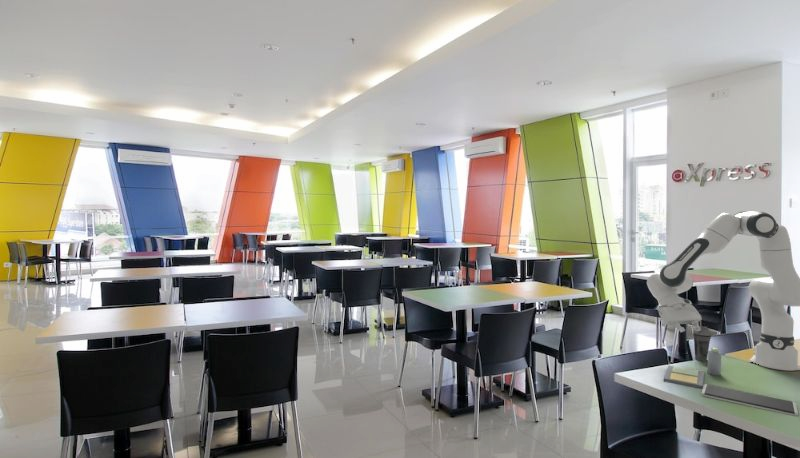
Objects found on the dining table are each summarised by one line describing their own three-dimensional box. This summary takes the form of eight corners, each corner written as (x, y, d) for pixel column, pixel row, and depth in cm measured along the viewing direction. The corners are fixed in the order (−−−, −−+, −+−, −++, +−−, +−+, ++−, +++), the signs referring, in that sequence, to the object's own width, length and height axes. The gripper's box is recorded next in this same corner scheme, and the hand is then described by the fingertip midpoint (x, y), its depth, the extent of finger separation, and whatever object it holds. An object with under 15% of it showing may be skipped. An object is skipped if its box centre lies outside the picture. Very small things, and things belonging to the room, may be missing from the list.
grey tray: (798, 418, 154) (798, 413, 154) (700, 397, 170) (701, 392, 170) (795, 406, 164) (795, 401, 164) (704, 387, 181) (704, 382, 181)
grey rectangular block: (707, 371, 200) (708, 346, 200) (720, 373, 197) (721, 348, 197) (707, 373, 196) (708, 348, 196) (720, 376, 194) (721, 350, 193)
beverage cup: (713, 362, 213) (715, 318, 213) (695, 360, 215) (697, 317, 215) (706, 357, 221) (708, 315, 220) (689, 356, 222) (690, 314, 222)
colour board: (668, 367, 203) (668, 364, 203) (703, 373, 196) (704, 370, 196) (663, 381, 185) (663, 377, 185) (702, 388, 178) (703, 385, 178)
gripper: (659, 301, 210) (678, 328, 201) (692, 300, 217) (712, 326, 208) (650, 309, 214) (668, 336, 205) (683, 308, 221) (702, 333, 212)
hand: (691, 331), depth 207 cm, fingers open, 8 cm apart
